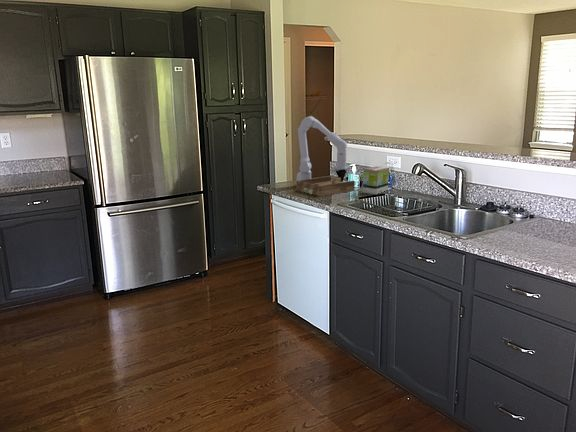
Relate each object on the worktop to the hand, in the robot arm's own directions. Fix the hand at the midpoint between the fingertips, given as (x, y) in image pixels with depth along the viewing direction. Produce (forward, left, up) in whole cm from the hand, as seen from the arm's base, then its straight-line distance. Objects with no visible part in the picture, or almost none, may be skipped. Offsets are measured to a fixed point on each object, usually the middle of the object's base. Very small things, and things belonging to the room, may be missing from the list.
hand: (340, 181), depth 322 cm
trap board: (0, -13, -4) cm, 14 cm away
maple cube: (0, -4, -1) cm, 4 cm away
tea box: (+22, +8, -4) cm, 24 cm away
